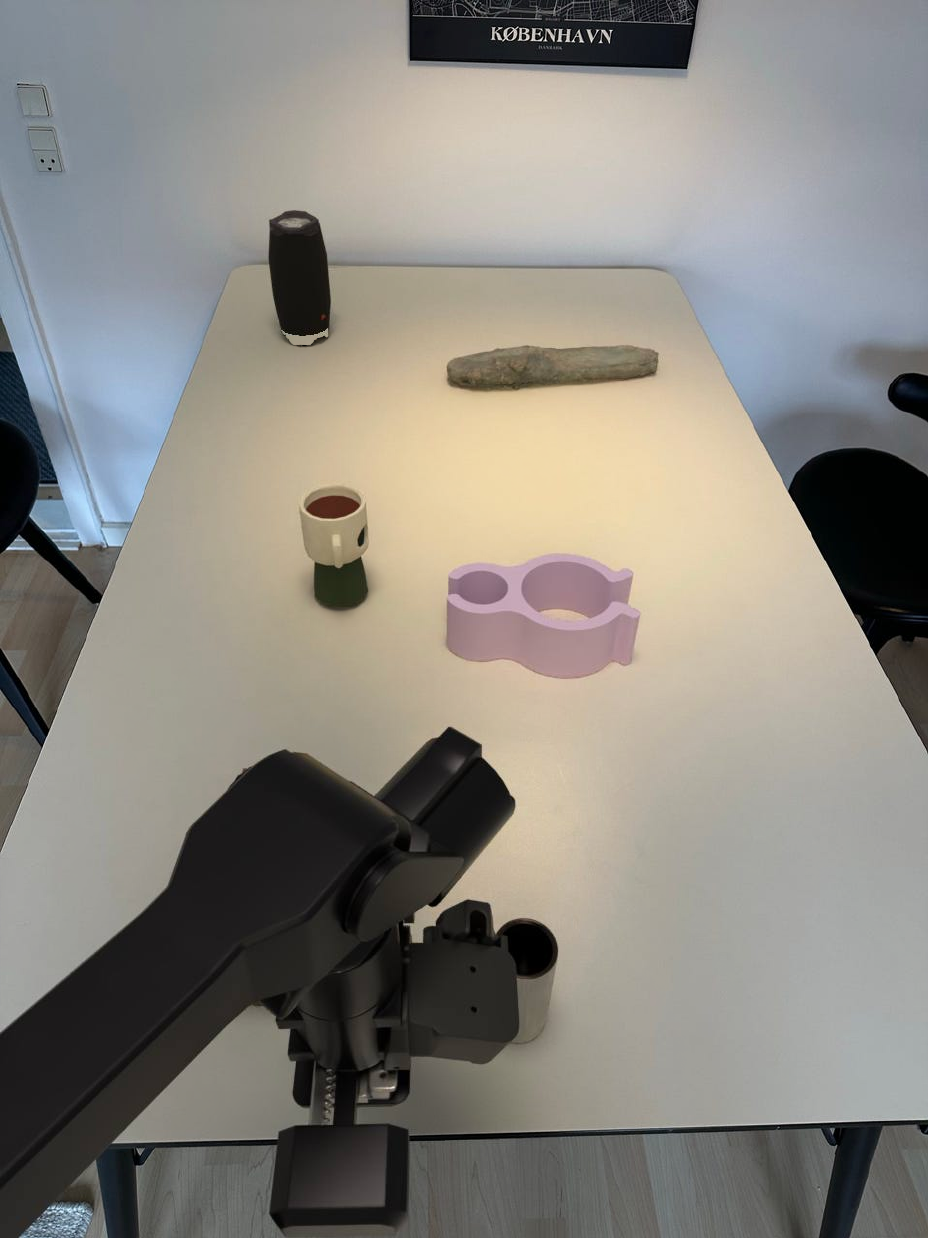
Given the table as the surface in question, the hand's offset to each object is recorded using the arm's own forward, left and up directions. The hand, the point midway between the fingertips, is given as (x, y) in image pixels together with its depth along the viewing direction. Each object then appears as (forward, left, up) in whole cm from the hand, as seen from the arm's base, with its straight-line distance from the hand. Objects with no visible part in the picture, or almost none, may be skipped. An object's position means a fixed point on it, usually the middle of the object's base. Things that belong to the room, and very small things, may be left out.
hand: (364, 1076), depth 53 cm
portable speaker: (+88, +92, -13) cm, 128 cm away
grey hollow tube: (+14, -2, -13) cm, 19 cm away
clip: (+50, +20, -13) cm, 55 cm away
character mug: (+42, +42, -13) cm, 60 cm away
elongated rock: (+103, +52, -13) cm, 116 cm away
